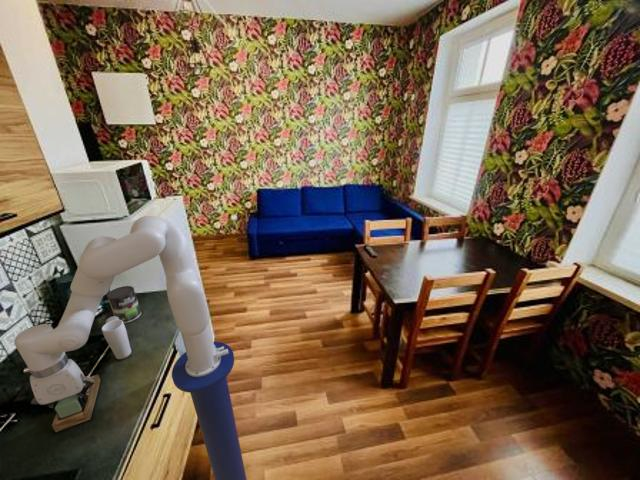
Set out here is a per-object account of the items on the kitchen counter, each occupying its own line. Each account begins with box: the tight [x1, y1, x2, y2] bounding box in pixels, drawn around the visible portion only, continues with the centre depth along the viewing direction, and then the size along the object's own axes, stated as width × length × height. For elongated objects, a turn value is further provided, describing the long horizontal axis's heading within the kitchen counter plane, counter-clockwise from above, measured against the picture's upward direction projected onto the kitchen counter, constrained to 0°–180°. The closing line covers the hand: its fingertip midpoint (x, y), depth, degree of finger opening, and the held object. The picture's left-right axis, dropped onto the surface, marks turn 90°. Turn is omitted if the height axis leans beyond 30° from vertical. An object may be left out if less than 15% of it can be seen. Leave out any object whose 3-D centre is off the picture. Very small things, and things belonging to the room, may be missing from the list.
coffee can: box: [106, 285, 142, 324], centre depth 125 cm, size 10×10×14 cm
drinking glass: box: [101, 320, 132, 360], centre depth 104 cm, size 7×7×15 cm
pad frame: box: [51, 374, 101, 433], centre depth 87 cm, size 8×16×3 cm, turn 28°
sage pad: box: [55, 395, 82, 419], centre depth 83 cm, size 5×5×4 cm
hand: (72, 407), depth 83 cm, fingers closed on sage pad, 5 cm apart
